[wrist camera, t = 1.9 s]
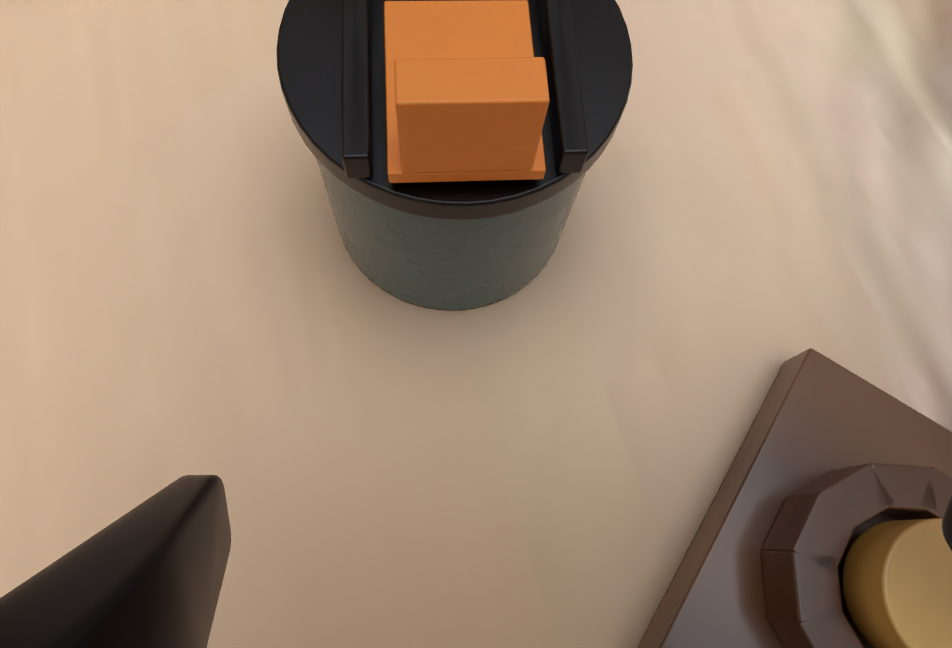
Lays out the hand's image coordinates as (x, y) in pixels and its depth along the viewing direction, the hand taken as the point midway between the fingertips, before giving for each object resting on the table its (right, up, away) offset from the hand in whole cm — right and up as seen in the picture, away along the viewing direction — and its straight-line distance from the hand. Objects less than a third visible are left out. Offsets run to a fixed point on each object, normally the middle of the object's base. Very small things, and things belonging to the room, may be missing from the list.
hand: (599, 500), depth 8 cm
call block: (+10, -6, +12) cm, 17 cm away
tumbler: (-2, +6, +16) cm, 17 cm away
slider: (-2, +7, +7) cm, 11 cm away
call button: (+10, -5, +10) cm, 15 cm away
